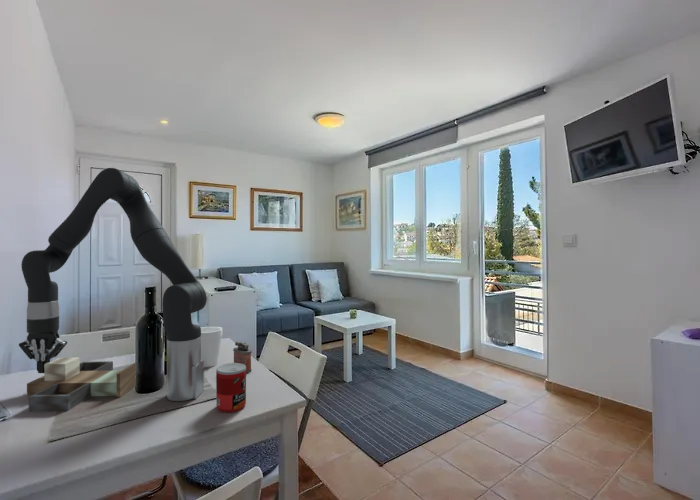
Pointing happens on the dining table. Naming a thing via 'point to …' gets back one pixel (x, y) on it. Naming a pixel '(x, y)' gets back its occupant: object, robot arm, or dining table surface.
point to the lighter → (243, 355)
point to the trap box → (80, 386)
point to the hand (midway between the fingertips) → (43, 372)
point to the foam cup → (210, 345)
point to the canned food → (231, 387)
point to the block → (61, 369)
